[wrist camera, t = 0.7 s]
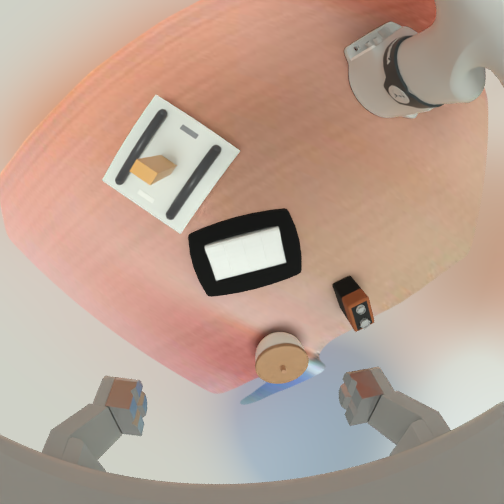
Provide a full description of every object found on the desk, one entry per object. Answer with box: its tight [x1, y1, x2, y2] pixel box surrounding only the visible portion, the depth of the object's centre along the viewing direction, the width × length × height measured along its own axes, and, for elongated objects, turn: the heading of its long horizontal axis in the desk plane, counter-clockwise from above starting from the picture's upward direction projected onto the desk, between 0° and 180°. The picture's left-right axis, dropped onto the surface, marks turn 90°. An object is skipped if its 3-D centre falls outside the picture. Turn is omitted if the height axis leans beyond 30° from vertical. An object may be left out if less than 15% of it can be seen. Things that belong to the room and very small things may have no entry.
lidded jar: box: [255, 332, 308, 384], centre depth 56 cm, size 11×11×9 cm
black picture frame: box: [188, 209, 301, 296], centre depth 52 cm, size 20×3×14 cm
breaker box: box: [102, 95, 240, 234], centre depth 42 cm, size 16×16×7 cm
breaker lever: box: [130, 155, 177, 185], centre depth 34 cm, size 2×3×12 cm, turn 53°
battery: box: [333, 276, 374, 331], centre depth 53 cm, size 4×7×10 cm, turn 24°
